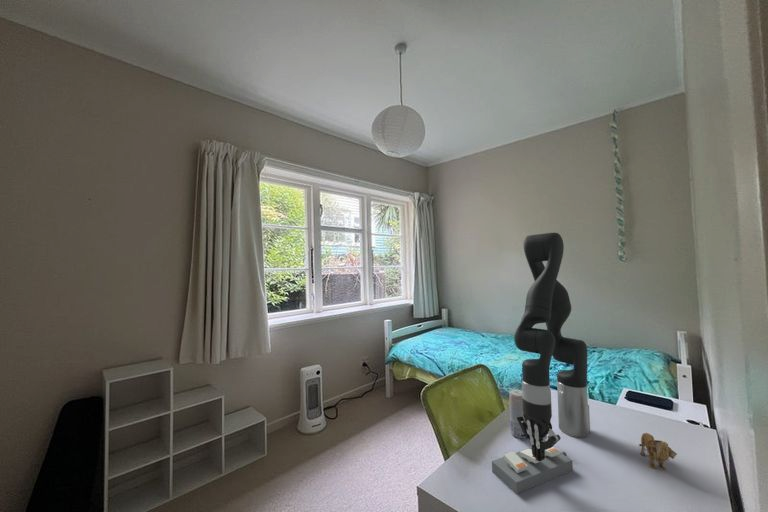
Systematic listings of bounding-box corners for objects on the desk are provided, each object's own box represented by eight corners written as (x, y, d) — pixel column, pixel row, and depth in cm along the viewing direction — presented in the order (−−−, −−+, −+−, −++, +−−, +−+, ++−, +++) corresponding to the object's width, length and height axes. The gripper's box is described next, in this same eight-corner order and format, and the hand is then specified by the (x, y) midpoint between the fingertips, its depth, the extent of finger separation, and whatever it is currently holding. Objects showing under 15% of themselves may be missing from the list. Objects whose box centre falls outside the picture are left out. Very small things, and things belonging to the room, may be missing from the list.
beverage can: (529, 440, 99) (528, 396, 99) (512, 438, 100) (511, 395, 100) (525, 430, 104) (523, 389, 105) (508, 429, 105) (507, 388, 106)
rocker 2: (545, 450, 89) (543, 442, 90) (560, 456, 85) (558, 448, 85) (536, 453, 88) (535, 445, 88) (551, 459, 83) (550, 452, 84)
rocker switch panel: (551, 449, 93) (551, 440, 94) (579, 467, 85) (579, 457, 85) (492, 471, 84) (491, 461, 84) (516, 493, 76) (516, 482, 76)
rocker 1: (512, 456, 85) (513, 450, 85) (526, 471, 80) (527, 465, 80) (503, 459, 84) (504, 453, 83) (517, 475, 79) (518, 468, 79)
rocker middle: (529, 455, 87) (528, 447, 87) (544, 462, 82) (543, 454, 83) (521, 458, 86) (519, 451, 86) (535, 466, 81) (534, 458, 81)
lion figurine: (680, 480, 80) (679, 447, 80) (657, 476, 81) (656, 444, 81) (648, 447, 94) (647, 420, 94) (629, 445, 95) (628, 417, 95)
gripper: (567, 405, 78) (569, 470, 77) (526, 386, 90) (528, 442, 90) (548, 410, 75) (550, 478, 74) (508, 390, 87) (510, 448, 87)
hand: (538, 458), depth 82 cm, fingers closed
